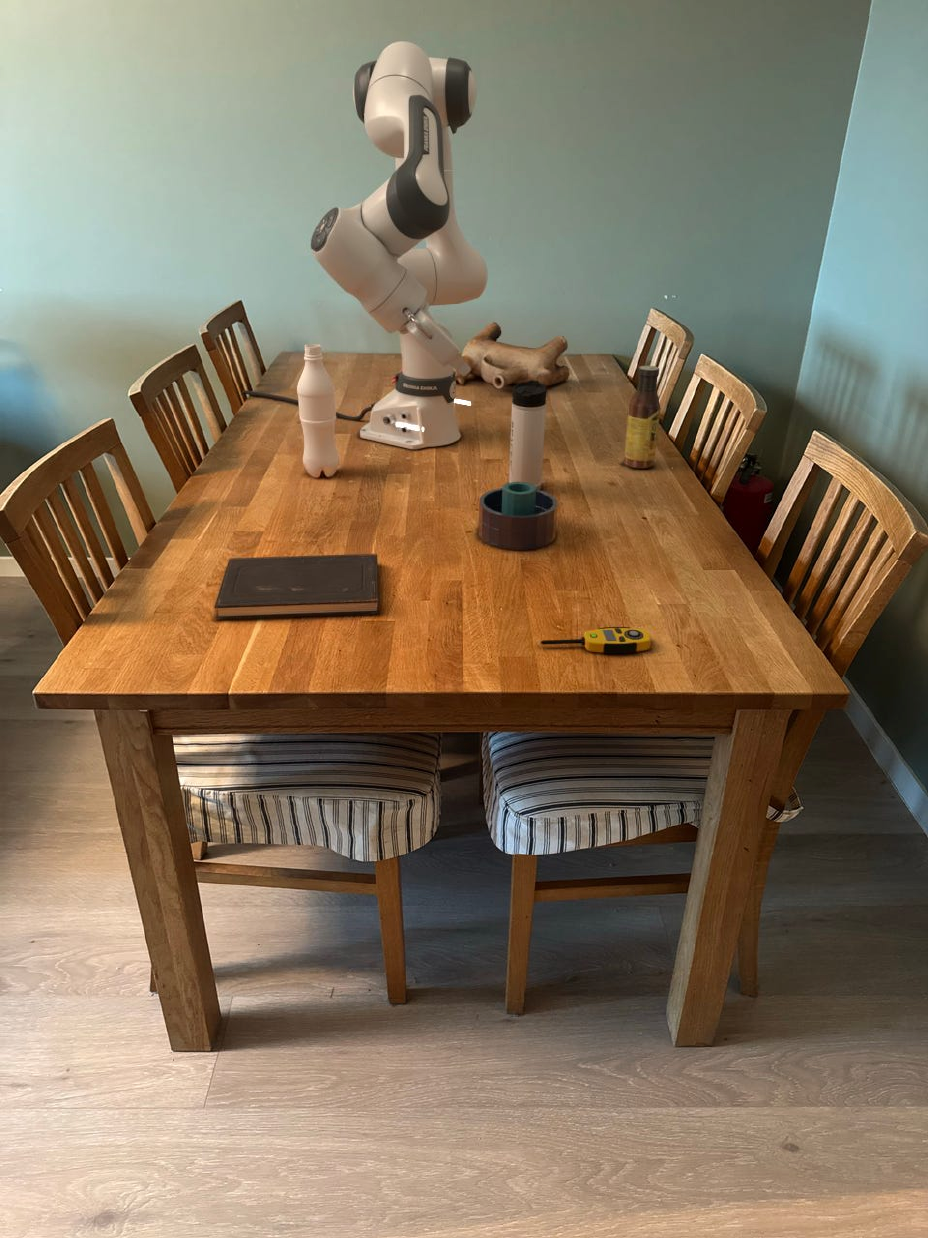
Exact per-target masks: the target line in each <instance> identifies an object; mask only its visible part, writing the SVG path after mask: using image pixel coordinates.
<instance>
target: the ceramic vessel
mask: <svg viewBox="0 0 928 1238" xmlns="http://www.w3.org/2000/svg"><path fill="white" fill-rule="evenodd" d="M501 328H502V327H501V326H500V325H499V324H498V323H497V322H495V321H494V322H490V323H488V325H487V326H486V327H484V328H483V329H482V330H481V331H480V332H479V333H478V334H476V335H475V336H473V337H472V338H471V339H470V340H469V341H468V342H467V343H466V344H465V346H464V348H463V350H462V353H461V355H460V357H461V358H462V359H463V360H464V361H465V362H466V363H467V364H468V366H469V367H470V368H471V370H470V372H469V373H468V374H467V375H466V376H462V375H461V374H460V373H459V372H458V371H457V370H456V369H454V372H455V375H456V382H458V383H459V384H460V386H464V385H465V381H466V378H467V377H468V376H469V375H472V376H475V377H478V378H482V379H483V381H484V382H485V383H488V384H492V385H493V386H494V388H495V389H497V390H502V389H503V388H504V387H506V386H508V385H511V384H515V385H516V384H519V383H522V382H529V381H530V380H535V381H539V383H541V384H543V385H545V386H546V387H548V386H552V385H557V384H560V383H561V382H564V381H567V380H568V379H569V377H570V369H569V367H568V366H567V365H565V364H564V365H559V364H558V363H557V362H558V359H559V357H560V356H562V354H564V353H565V352H566V351H567V350H568V346H569V345H568V340H567V339H566V338H565V336H563V335H557V336H555V337H554V338H553V339H551V340H549V341H548V342H547V343H545V344H543V345H542V346H540V347H528V346H520V345H519V346H518V345H514V344H509V343H505V342H501V341H498V339H499V338H500V337H501V336H502V332H503V331H502V329H501Z"/></svg>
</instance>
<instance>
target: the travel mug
mask: <svg viewBox="0 0 928 1238" xmlns="http://www.w3.org/2000/svg"><path fill="white" fill-rule="evenodd" d="M547 390H548V389H547V386H545V385H543V384H541V383H539V381H535V380H530V381H529V382H522V383H519V384H515V385H513V387H512V400H511V419H510V420H511V421H510V426H511V427H510V444H509V445H510V447H509V448H510V449H509V473H508V483H511V482H526V483H530V484H532V485H534V486H535V488H536V489H537V490H541V489H542V483H543V482H542V479H543V464H544V447H545V444H544V443H545V428H546V411H547V407H546V406H547Z"/></svg>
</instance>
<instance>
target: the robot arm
mask: <svg viewBox="0 0 928 1238" xmlns="http://www.w3.org/2000/svg"><path fill="white" fill-rule="evenodd" d="M352 99H353V105H354V109H355V110H356V114H357V117H358V119H359V120H360V121H361V122H362V123H363V124H364V129H365V133H366V135H367V137H368V138H369V140H370V142H371V143H372V144H373V145H374V147H375V148H377V149H378V150H379V151H380V152H381V153H383V154H385V155H386V156H389V157H392V158H395V171H394V172H393V173H392V175H391V176H390V177H388V178H387V180H385V182H383V183H382V184H381V185H380V186H379V187H378V188H377V189H375V190H374V191H373V192H372V193H371V194H370V195H369V196H368V197H367V198H365V200H363V201H362V202H360V203H357V204H356V205H354V206H351V207H348V208H341V207H339V206H336V207H333V208H331V209H330V210H328V211H327V212H326V213H325V214H324V215H323V216H322V218H321V219H320V221H319V222H318V224H317V225H316V227H315V229H314V231H313V233H312V235H311V239H310V250H311V252H312V254H313V256H314V258H315V259H316V261H317V262H318V263H319V265H320V266H321V267H322V269H323V270H324V271H325V272H326V273H327V274H328V275H329V277H330V278H332V280H333V281H335V283H336V284H337V285H338V286H339V287H340V288H341V289H342V290H343V291H344V292H346V293H347V294H349V295H351V296H353V297H354V298H356V300H357V301H358V302H359V303H360V305H361V306H362V307H363V309H364V311H365V312H366V313H367V314H368V315H369V316H370V317H371V318H373V319H374V321H376V322H377V324H378V325H380V327H382V328H383V329H384V330H385V331H386V332H387V333H388V334H393V333H395V332H397V333H398V336H399V343H400V351H401V352H400V353H401V367H402V368H401V369H400V370H399V372H398V373H396V374H394V376H393V377H391V384H394V386H395V387H394V389H392V390H391V391H390V392H388V393H387V394H386V395H385V396H383V397H382V398H381V399H380V400H378V401H376V402H373V403H371V404H370V406H367V407H365V408H364V409H362V411H361V413H360V414H359V415H358V416H349V415H346V414H343V413H340V412H337V411H336V418H340V419H342V420H343V419H344V420H348V421H354V422H355V421H356V422H357V421H361V420H362V419H363V418H364V417H365V415H366V414H367V413H368V412H370V415H369V422H367V423H366V424H365V425H363V426H362V427H361V428H360V430H359V437H360V438H361V439H364V440H368V441H373V442H378V443H382V444H386V445H392V446H395V447H400V448H405V449H409V450H419V449H424V448H428V447H429V448H431V447H441V446H446V445H450V444H453V443H455V442H457V441H459V440H460V439H461V436H462V434H461V432H460V428H459V424H458V419H457V411H456V404H459V405H464V406H465V405H466V406H471V405H472V403H471V401H469V400H464V399H457V398H456V396H457V381H456V375H455V372H454V369H456V370H457V371H458V372H459V373H460V374H461V375H462V376H466V375H467V374H468V373H469V372H470V370H471V368H470V367H469V366H468V364H467V363H466V362H465V361H464V360H463V359H462V358H461V357H460V356H461V355H460V354H459V352H460V348H459V346H458V345H457V344H456V343H455V341H454V337H453V335H452V333H451V332H450V331H449V329H448V328H447V327H445V326H443V325H441V324H440V323H438V322H437V321H436V320H435V319H434V317H433V316H432V315H431V313H430V312H429V308H430V307H432V306H447V305H459V304H464V303H467V302H470V301H473V300H476V299H477V300H478V299H479V298H480V297H481V296H482V294H483V293H484V292H485V289H486V288H487V283H488V278H489V274H488V267H487V263H486V261H485V259H484V257H483V255H482V254H481V253H480V251H478V250H477V249H475V248H474V247H473V246H472V245H471V244H470V243H469V242H468V240H467V239H466V238H465V236H464V234H463V232H462V230H461V228H460V226H459V223H458V219H457V216H456V211H455V201H454V181H453V180H454V179H453V173H454V172H453V170H454V169H453V152H452V151H453V150H452V143H451V136H450V135H451V134H452V135H455V134H456V133H457V131H458V129H459V128H461V127H462V126H464V125H466V124H467V122H468V121H469V120H470V119H471V117H472V115H473V110H474V108H475V105H476V101H477V85H476V81H475V77H474V75H473V71H472V68H471V66H470V65H469V64H468V62H467V61H466V60H463V59H460V58H455V57H449V56H448V58H439V57H429V56H428V54H427V53H426V52H425V51H424V50H423V49H422V48H421V47H420V46H419V45H417V44H415V43H413V42H410V41H405V40H400V41H395V42H392V43H390V44H389V45H387V46H386V47H384V49H383V50H382V52H381V53H380V54H379V56H378V58H377V60H373V61H369V62H367V63H364V64H362V65H361V66H360V67H359V68H358V69H357V71H356V72H355V75H354V82H353V86H352ZM449 128H450V130H449ZM450 131H451V134H450ZM424 240H425V247H424V248H414V247H416V246H417V245H418V244H419V243H421V242H422V241H424ZM241 392H242V395H243V394H244V395H249V396H256V397H262V398H267V399H273V400H278V401H283V402H287V403H292V404H295V405H299V401H298V399H294V398H290V397H286V396H282V395H277V394H271V393H266V392H259V391H253V390H245V389H242V391H241Z"/></svg>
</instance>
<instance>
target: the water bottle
mask: <svg viewBox="0 0 928 1238" xmlns="http://www.w3.org/2000/svg"><path fill="white" fill-rule="evenodd" d="M323 359H324V356H323V353H322V346H321V344H320V343H319V344H318V343H308V344H305V345H304V357H303V360H304V361H305V362H304V368H303V370H302V373H301V375H300V377H299V380H298V382H297V384H296V385H297V387H296V393H297V397H298V398H297V400H298V401H299V404H298V413H299V421H300V424H301V427H302V432H303V434H302V435H303V444H304V445H303V455H302V463H303V465H302V466H303V467H304V469H305V471H306V473H307V474H309V475H310V476H311V477H313V478H317V479H318V478H320V476H321V474H322V473H321V472H323V473H324V475H325V477H327V478H330V477H333V476H334V475H335V473H336V472H337V470H338V468H339V465H340V455H339V451H338V447H337V443H336V436H335V435H336V433H335V431H336V430H335V428H336V420H337V416H336V412H337V411H336V409H337V408H336V395H335V392H336V388H335V385H334V382H333V380H332V379H331V376H330V375H329V373H328V371H327V370H326V368H325V366H324V363H323Z"/></svg>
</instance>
